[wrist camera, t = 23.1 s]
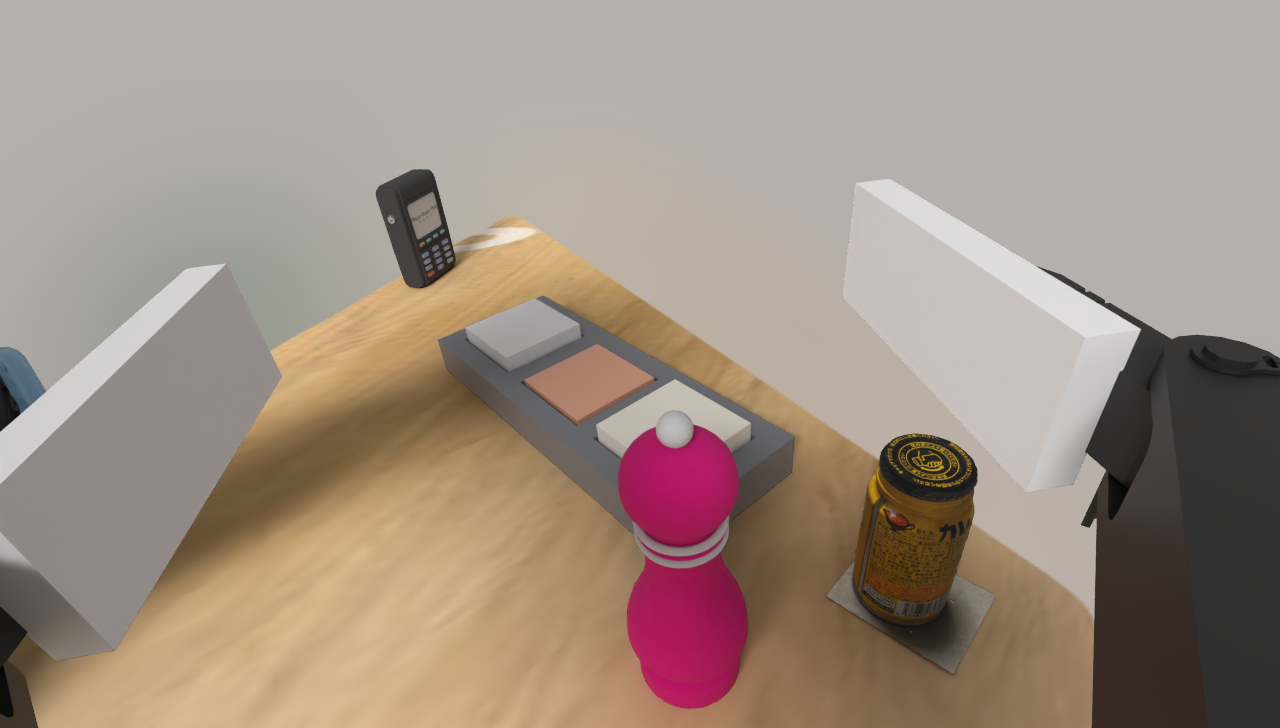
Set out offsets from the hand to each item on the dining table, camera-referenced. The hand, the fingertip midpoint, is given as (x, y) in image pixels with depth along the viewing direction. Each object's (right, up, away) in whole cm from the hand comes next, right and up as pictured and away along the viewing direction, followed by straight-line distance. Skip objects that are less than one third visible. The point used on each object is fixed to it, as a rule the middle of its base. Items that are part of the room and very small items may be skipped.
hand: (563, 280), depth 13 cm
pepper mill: (+5, -21, +26) cm, 34 cm away
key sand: (+5, -9, +39) cm, 40 cm away
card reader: (-30, +11, +80) cm, 86 cm away
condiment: (+20, -18, +28) cm, 39 cm away
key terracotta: (-3, -6, +47) cm, 48 cm away
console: (-3, -7, +48) cm, 49 cm away
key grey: (-11, 0, +55) cm, 56 cm away
